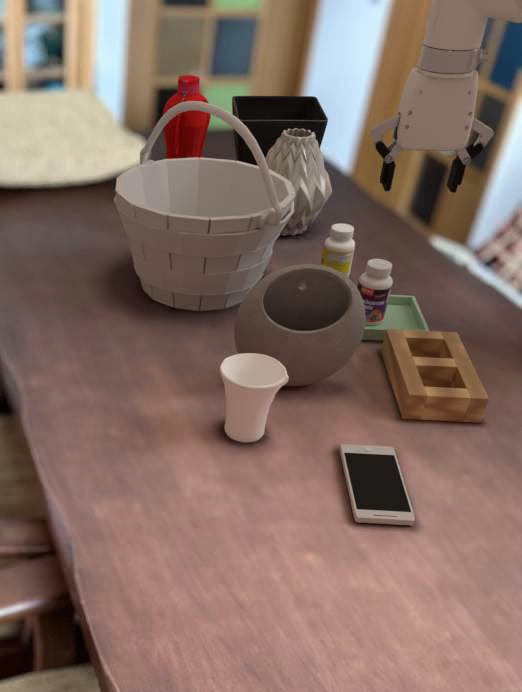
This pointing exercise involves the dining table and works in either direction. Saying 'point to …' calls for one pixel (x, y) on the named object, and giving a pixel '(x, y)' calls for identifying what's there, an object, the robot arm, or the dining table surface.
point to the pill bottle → (375, 290)
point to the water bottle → (186, 122)
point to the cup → (250, 393)
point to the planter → (302, 321)
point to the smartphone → (376, 485)
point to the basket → (202, 220)
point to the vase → (301, 176)
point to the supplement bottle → (339, 248)
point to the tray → (397, 318)
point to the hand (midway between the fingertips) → (418, 189)
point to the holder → (433, 376)
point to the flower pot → (275, 120)
